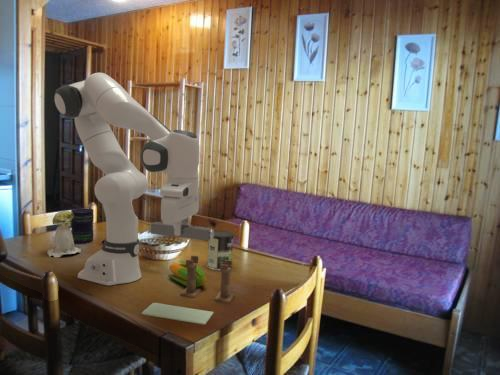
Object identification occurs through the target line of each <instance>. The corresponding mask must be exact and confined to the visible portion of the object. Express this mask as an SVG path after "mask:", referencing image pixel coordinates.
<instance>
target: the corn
mask: <svg viewBox="0 0 500 375" xmlns="http://www.w3.org/2000/svg"><path fill="white" fill-rule="evenodd" d="M169 271H171V273H172V274H173V275H172V274H169V273H168V276H169V277H170V278H172V280H174V281H176V282H177V283H180V284H181V285H182V286H185V287H187V267H186V261H184V260H183V261H182V260H180V261H179V263H172V264H170V265H169ZM175 276H176V277H175ZM206 282H207V277H206V275H205V272H204V270H203V269H202V268H200V267H198V266H197V267H196V288H200V287H203V286H204V285H205V284H206Z"/></svg>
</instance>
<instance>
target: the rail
mask: <svg viewBox="0 0 500 375" xmlns="http://www.w3.org/2000/svg"><path fill="white" fill-rule="evenodd" d="M181 229H182V234H181V235H180V236H175V235H174V227H173V225H167V224H163V222H162V221H154V222H150V224H149V228H148V230H149V232H150V234H151V235H152V234H153V235H161V236H167V237H176V238H184V239H186V238H187V239H192V240H202V241H209V240H210V239H213V237H214V231H215V230H214V229H213V227H207V226H198V225H197V226H196V225H189V224H188V225H182V224H181Z"/></svg>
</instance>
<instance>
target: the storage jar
mask: <svg viewBox="0 0 500 375" xmlns="http://www.w3.org/2000/svg"><path fill="white" fill-rule="evenodd" d="M70 212H73V214H74V217H73V219H72V220H71V232H72V236H73V241H74V245H87V244H86V243H89V244H91V243H90V242H92V241H93V242H94V229H93V228H94V209H92V208H87V207H86V208H85V207H83V208H79V207H78V208H72V209H71V210H70ZM93 242H92V243H93Z"/></svg>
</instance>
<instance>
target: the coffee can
mask: <svg viewBox="0 0 500 375" xmlns="http://www.w3.org/2000/svg"><path fill="white" fill-rule="evenodd" d="M234 235H235V234H234V233H233V232H231V231H228V230H222V229H221V230H220V229H219V230H214V237H213V239H210V240H209V241H208V240H207V241H208V242H207V264H206V267H207V268H208V269H210V270H212V271H220V266H221V264H225V260H232V261H233V248H234V247H233V245H234V237H235V236H234ZM228 269H231V270H232V268H228Z"/></svg>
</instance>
